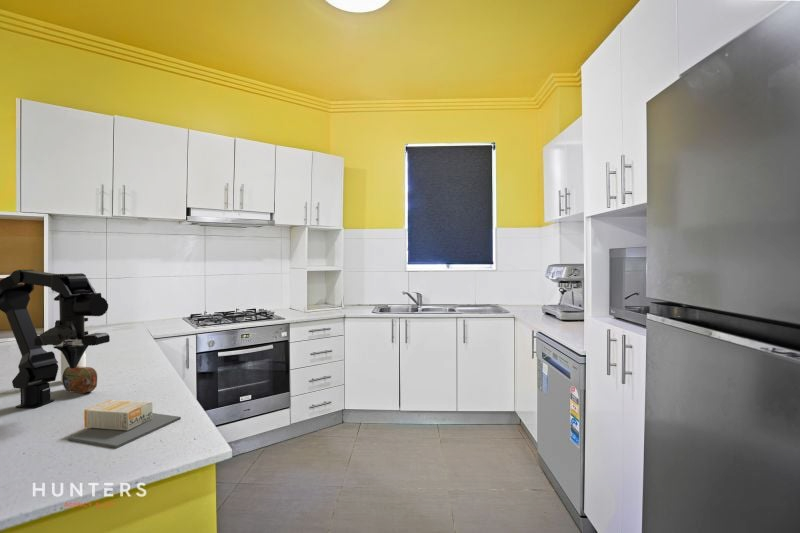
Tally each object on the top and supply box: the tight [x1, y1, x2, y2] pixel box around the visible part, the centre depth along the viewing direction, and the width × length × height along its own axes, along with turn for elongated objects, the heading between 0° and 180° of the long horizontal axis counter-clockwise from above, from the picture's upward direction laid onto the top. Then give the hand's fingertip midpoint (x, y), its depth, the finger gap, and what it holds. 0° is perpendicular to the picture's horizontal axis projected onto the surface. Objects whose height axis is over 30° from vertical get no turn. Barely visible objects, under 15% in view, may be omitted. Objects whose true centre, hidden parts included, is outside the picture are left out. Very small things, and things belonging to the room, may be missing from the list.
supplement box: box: [83, 399, 153, 430], centre depth 106 cm, size 8×5×13 cm
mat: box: [67, 412, 182, 449], centre depth 104 cm, size 16×18×1 cm
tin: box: [62, 366, 98, 394], centre depth 136 cm, size 15×3×8 cm, turn 68°
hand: (73, 368), depth 119 cm, fingers closed
